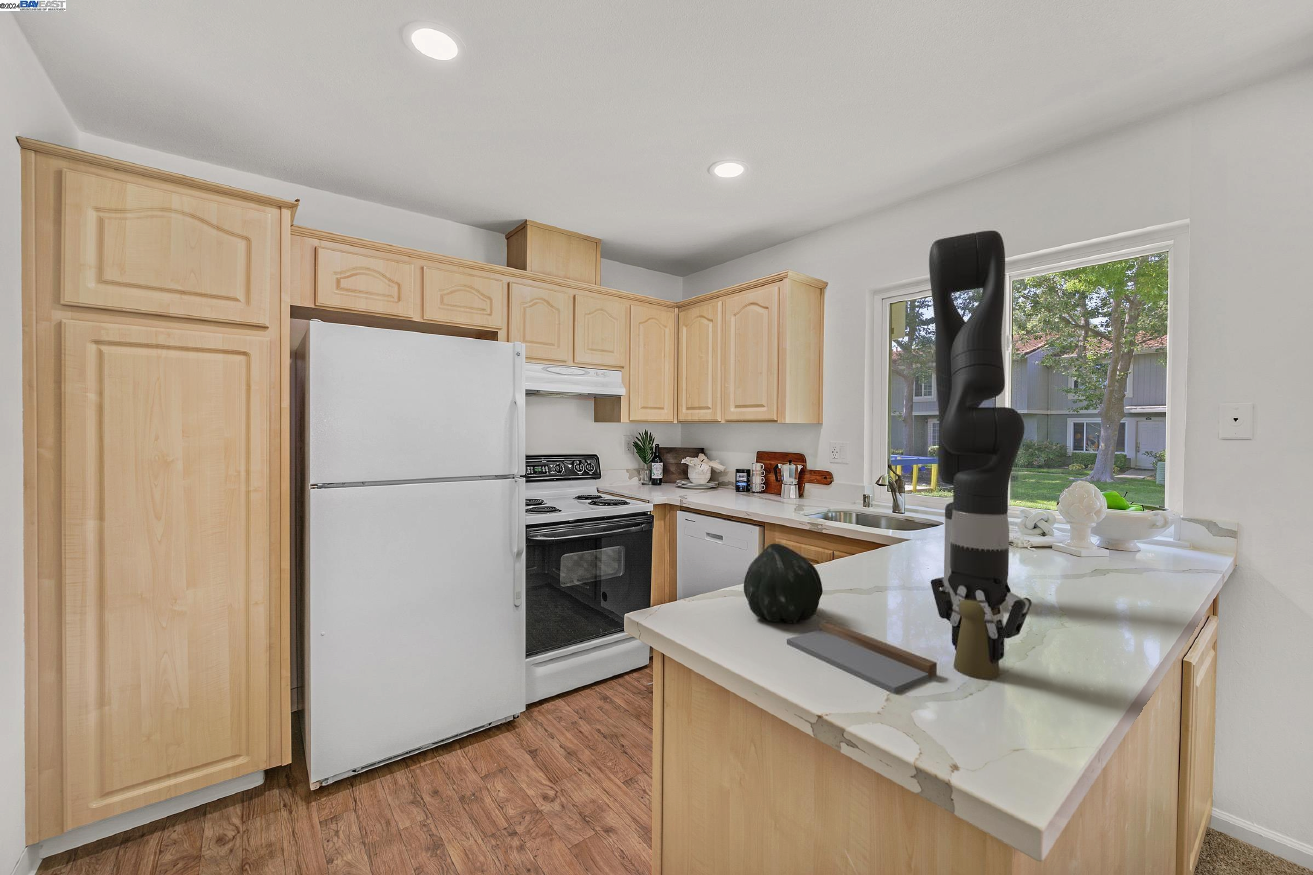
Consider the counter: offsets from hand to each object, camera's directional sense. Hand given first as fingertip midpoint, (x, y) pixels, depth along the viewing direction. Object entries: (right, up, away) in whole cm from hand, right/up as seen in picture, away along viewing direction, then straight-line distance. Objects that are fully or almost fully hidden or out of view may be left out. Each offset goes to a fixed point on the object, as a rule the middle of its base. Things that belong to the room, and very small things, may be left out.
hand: (976, 655), depth 83 cm
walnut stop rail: (-13, -2, +6) cm, 15 cm away
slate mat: (-17, -2, +3) cm, 18 cm away
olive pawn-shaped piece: (0, -2, 0) cm, 2 cm away
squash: (-24, -2, +23) cm, 33 cm away
